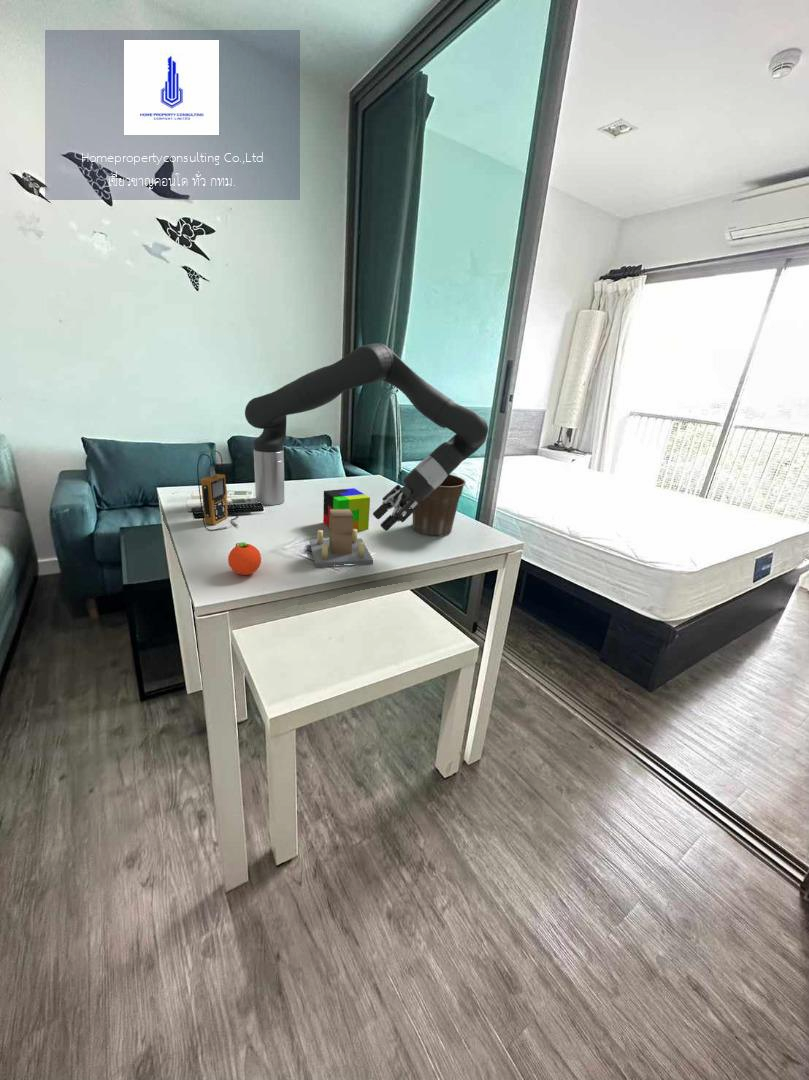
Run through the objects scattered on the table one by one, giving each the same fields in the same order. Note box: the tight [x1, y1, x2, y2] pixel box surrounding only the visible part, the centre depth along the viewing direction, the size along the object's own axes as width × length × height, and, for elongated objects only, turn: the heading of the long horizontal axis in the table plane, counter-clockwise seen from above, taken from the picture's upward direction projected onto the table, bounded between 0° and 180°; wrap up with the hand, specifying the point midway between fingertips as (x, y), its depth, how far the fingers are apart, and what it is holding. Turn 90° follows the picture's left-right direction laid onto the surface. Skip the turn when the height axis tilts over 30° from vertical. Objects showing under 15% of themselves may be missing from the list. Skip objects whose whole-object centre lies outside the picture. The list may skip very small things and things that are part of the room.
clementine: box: [227, 542, 262, 576], centre depth 97 cm, size 8×7×7 cm
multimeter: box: [196, 450, 240, 531], centre depth 121 cm, size 15×10×20 cm
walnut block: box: [328, 509, 353, 554], centre depth 109 cm, size 5×5×10 cm
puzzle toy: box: [322, 487, 371, 532], centre depth 129 cm, size 10×10×10 cm
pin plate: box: [308, 529, 374, 568], centre depth 111 cm, size 14×14×5 cm
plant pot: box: [411, 473, 467, 536], centre depth 131 cm, size 16×16×16 cm
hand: (378, 522), depth 111 cm, fingers open, 8 cm apart
